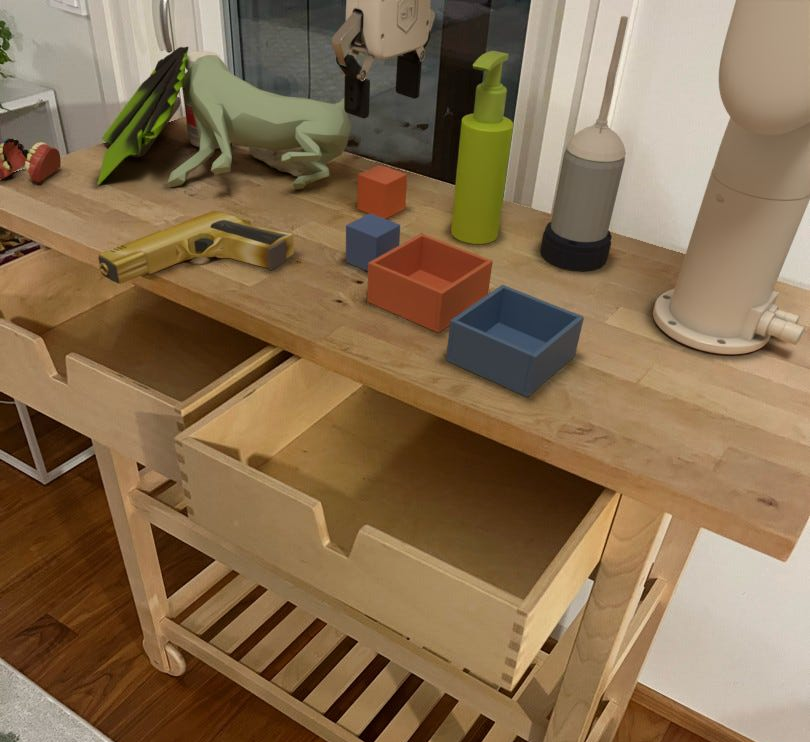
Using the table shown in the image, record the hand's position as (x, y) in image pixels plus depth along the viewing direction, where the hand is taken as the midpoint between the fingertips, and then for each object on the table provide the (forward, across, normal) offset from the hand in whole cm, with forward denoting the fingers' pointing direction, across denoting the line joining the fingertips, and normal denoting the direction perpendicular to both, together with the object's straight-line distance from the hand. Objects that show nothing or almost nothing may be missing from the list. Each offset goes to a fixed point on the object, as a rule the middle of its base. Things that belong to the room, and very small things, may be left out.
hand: (382, 104), depth 98 cm
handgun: (+11, -26, -1) cm, 29 cm away
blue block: (+12, -12, -9) cm, 19 cm away
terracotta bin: (+12, -15, -19) cm, 27 cm away
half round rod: (+11, -3, +39) cm, 41 cm away
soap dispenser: (+12, +2, -13) cm, 18 cm away
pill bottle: (+13, 0, +30) cm, 33 cm away
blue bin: (+12, -18, -32) cm, 39 cm away
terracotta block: (+12, 0, -1) cm, 12 cm away
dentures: (+10, -22, +35) cm, 43 cm away
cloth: (+6, -11, +32) cm, 34 cm away
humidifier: (+12, +6, -25) cm, 29 cm away
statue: (+12, -6, +12) cm, 19 cm away
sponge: (+13, +2, +18) cm, 22 cm away
